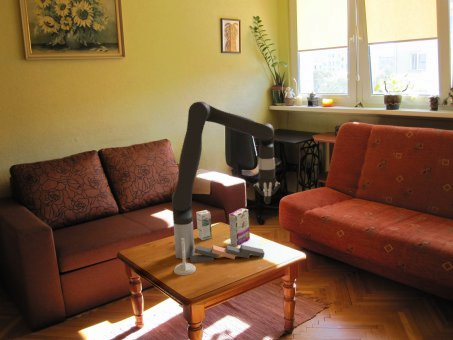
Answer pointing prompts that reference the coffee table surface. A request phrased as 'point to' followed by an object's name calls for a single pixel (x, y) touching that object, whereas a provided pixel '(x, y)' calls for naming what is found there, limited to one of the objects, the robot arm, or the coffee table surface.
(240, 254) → the domino
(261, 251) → the domino
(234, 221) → the candy bar box
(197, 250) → the domino
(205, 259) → the domino
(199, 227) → the syrup box
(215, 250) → the domino
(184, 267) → the white paper towel holder
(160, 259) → the coffee table surface
